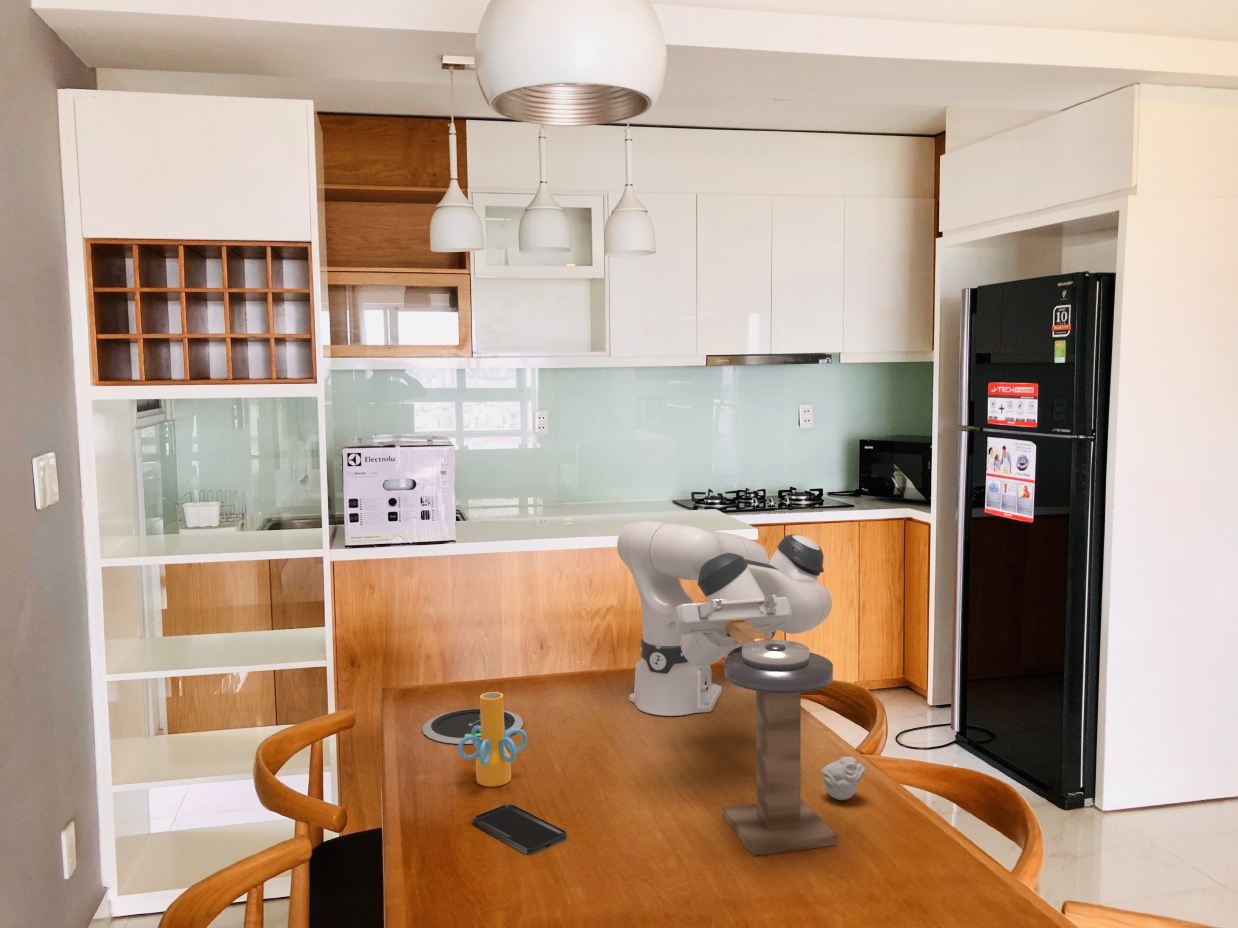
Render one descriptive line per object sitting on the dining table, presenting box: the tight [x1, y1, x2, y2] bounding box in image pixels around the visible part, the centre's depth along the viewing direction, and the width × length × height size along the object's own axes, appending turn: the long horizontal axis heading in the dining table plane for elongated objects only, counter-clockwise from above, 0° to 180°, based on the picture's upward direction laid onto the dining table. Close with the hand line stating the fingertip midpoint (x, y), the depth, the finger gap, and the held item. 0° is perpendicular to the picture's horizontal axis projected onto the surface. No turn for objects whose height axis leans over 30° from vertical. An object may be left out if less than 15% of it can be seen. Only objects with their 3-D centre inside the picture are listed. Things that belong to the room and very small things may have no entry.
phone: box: [471, 803, 567, 856], centre depth 146 cm, size 8×1×15 cm
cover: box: [725, 621, 810, 671], centre depth 150 cm, size 24×10×2 cm, turn 13°
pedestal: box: [722, 651, 838, 857], centre depth 144 cm, size 16×16×26 cm
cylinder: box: [457, 691, 528, 788], centre depth 164 cm, size 12×10×15 cm
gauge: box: [421, 707, 524, 746], centre depth 191 cm, size 20×20×1 cm
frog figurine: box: [820, 756, 866, 801], centre depth 155 cm, size 6×7×7 cm
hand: (745, 601), depth 155 cm, fingers open, 8 cm apart
